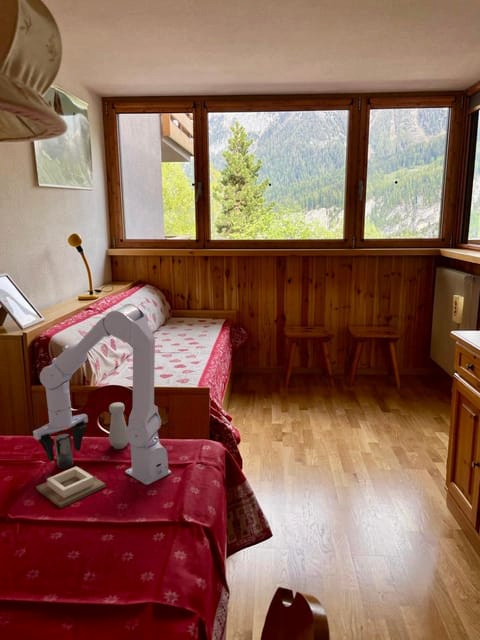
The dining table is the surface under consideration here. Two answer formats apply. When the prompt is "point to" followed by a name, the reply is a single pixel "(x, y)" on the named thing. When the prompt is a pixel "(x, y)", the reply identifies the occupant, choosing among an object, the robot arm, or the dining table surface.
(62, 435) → the peg
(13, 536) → the dining table surface
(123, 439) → the salt shaker
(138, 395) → the robot arm
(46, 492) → the socket board
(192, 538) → the dining table surface
